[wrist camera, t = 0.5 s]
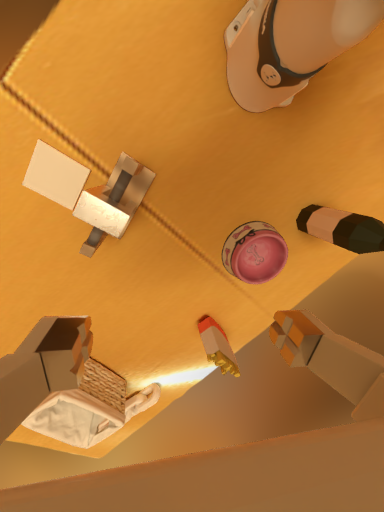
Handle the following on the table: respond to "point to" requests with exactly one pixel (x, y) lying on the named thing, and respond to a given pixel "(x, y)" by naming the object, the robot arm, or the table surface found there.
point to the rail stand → (121, 195)
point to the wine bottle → (343, 228)
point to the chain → (138, 403)
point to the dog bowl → (254, 252)
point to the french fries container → (218, 346)
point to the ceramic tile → (55, 175)
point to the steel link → (103, 210)
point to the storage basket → (82, 409)
